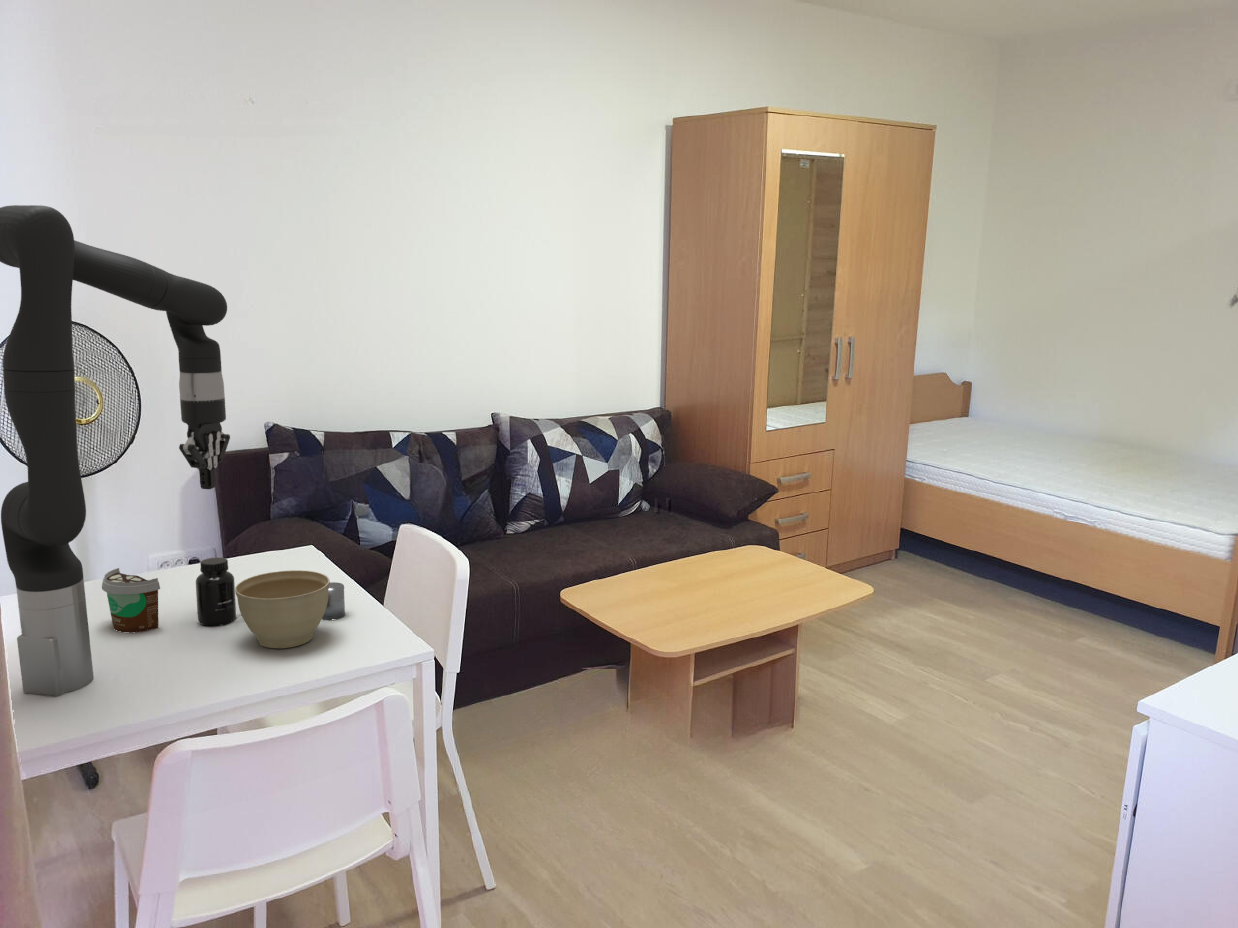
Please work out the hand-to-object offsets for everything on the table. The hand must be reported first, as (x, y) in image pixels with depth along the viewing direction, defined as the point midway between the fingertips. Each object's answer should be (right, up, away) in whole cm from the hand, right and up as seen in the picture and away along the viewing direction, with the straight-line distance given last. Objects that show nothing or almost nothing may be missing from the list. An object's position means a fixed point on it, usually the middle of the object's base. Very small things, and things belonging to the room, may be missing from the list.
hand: (208, 488), depth 174 cm
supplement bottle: (-1, -26, +5) cm, 26 cm away
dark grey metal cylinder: (+20, -25, +9) cm, 34 cm away
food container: (-16, -26, +1) cm, 31 cm away
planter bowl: (+16, -28, -3) cm, 32 cm away
